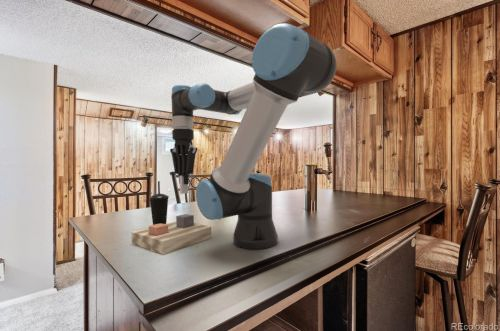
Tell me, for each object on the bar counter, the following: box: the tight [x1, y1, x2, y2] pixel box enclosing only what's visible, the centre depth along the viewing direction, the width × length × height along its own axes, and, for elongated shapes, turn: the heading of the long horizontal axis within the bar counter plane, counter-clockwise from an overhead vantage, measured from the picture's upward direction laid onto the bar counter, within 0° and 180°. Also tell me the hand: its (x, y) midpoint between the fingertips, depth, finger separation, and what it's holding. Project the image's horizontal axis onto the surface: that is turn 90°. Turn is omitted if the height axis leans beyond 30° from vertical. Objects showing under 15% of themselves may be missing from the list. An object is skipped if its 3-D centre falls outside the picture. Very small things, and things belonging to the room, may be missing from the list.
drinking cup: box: [148, 180, 170, 225], centre depth 102 cm, size 8×8×20 cm
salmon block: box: [148, 223, 168, 236], centre depth 83 cm, size 4×4×5 cm
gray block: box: [175, 213, 195, 228], centre depth 92 cm, size 4×4×5 cm
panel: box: [131, 221, 213, 256], centre depth 87 cm, size 18×20×4 cm
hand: (184, 193), depth 92 cm, fingers closed
